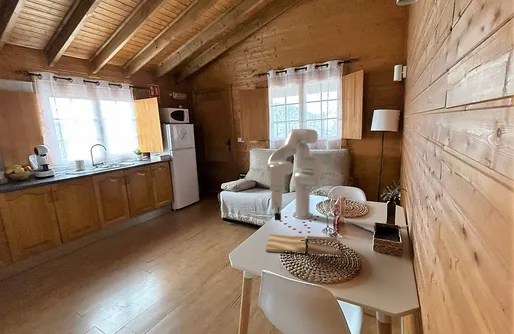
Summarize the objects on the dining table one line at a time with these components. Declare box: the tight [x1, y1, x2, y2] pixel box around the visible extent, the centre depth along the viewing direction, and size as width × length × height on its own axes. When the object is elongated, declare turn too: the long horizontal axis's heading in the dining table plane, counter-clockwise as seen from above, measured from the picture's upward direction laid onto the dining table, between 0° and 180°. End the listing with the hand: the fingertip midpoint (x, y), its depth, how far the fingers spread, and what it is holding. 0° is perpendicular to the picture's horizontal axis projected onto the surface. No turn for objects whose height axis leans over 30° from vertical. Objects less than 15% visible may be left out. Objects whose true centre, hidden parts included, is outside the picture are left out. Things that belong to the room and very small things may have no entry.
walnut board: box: [306, 235, 342, 255], centre depth 124 cm, size 18×16×2 cm
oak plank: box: [265, 234, 307, 253], centre depth 128 cm, size 16×20×2 cm
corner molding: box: [343, 218, 410, 233], centre depth 156 cm, size 30×2×30 cm
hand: (277, 219), depth 129 cm, fingers closed
